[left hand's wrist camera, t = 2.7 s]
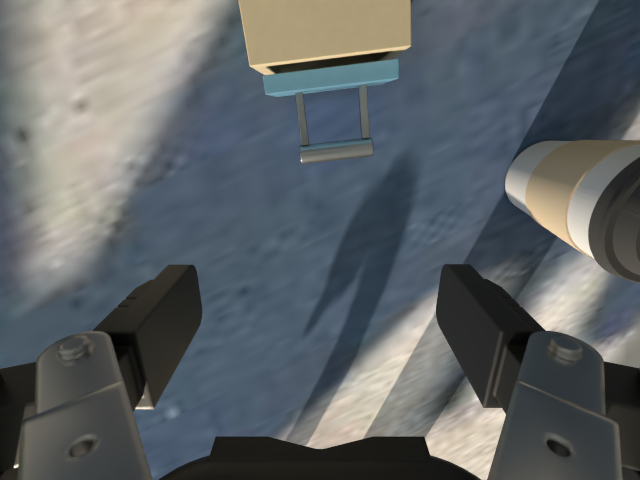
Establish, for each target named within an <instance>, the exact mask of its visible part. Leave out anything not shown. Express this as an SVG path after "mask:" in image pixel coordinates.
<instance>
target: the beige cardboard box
mask: <svg viewBox="0 0 640 480" xmlns="http://www.w3.org/2000/svg"><path fill="white" fill-rule="evenodd" d="M239 5H240V11H241V17H242V23H243V29H244V35H245V41H246V47H247V53H248V59H249V65H250V67H252V68H254V69H256V70H257V71H259V72H261V73H262V74H264V75H270V74H278V73H286V72H294V71H303V70H311V69H319V68H327V67H335V66H343V65H351V64H359V63H367V62H375V61H383V60H390V59H392V58H393V57H395V56H396V55H398V54H400V53H401V52H403V51H404V50H406V49H407V48H409V47H410V46H411V0H239Z"/></svg>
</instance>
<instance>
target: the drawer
mask: <svg viewBox="0 0 640 480" xmlns="http://www.w3.org/2000/svg"><path fill="white" fill-rule="evenodd" d="M398 78H399V59H391V60H383V61H375V62H367V63H359V64H351V65H343V66H335V67H327V68H319V69H311V70H303V71H294V72H286V73H278V74H270V75H263V81H264V87H265V93H266V94H267V95H271V96H275V97H280V96H288V95H295V98H296V105H297V113H298V121H299V129H300V137H301V146H300V147H299V150H300V159H301V163H302V164H309V163H317V162H326V161H335V160H344V159H352V158H361V157H370V156H373V140H372V138H371V137H369V119H368V101H367V86H370V85H379V84H384V83H387V82H389V81H392V80H395V79H398ZM354 87H358V93H359V109H360V125H361V139H352V140H343V141H335V142H326V143H318V144H309V139H308V131H307V122H306V114H305V106H304V97H303V94H305V93H313V92H321V91H329V90H338V89H346V88H354Z"/></svg>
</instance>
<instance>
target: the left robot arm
mask: <svg viewBox="0 0 640 480" xmlns="http://www.w3.org/2000/svg"><path fill="white" fill-rule="evenodd" d="M436 316H437V322H438V325H439V327H440V329H441V331H442V332H443V334H444V336H445V338H446V340H447V342H448V343H449V345H450V347H451V349H452V351H453V353H454V354H455V356H456V358H457V360H458V362H459V364H460V365H461V367H462V369H463V371H464V373H465V375H466V376H467V378H468V380H469V382H470V384H471V386H472V387H473V389H474V391H475V393H476V395H477V397H478V398H479V400H480V402H481V404H482V406H483V408H503V410H504V412H505V413H506V417H505V421H504V424H503V428H502V431H501V434H500V438H499V441H498V445H497V448H496V452H495V455H494V458H493V462H492V465H491V469H490V472H489V476H488V479H487V480H640V368H634V367H629V366H624V365H619V364H614V363H609V362H604V361H603V358H602V356H601V355H600V354H599V353H598V352H597V351H596V350H595V349H594V348H593V347H591V346H590V345H588V344H587V343H585V342H583V341H581V340H579V339H577V338H575V337H572V336H569V335H567V334H563V333H559V332H553V331H545V330H544V329H543V328H542V327H541V326H540V325H539V324H538V323H537V322H536V321H535V320H534V319H533V318H532V317H531V316H530V315H529V314H528V313H527V312H526V311H525V310H524V309H523V308H522V307H520V306H519V304H518V303H517V302H516V301H515V300H514V299H511V296H510V295H509V294H508V293H507V292H506V291H505V290H504V289H503V288H502V287H500V286H498V285H497V284H495V283H493V282H491V281H489V280H487V279H483V278H482V277H481V276H480V275H479V273H478V272H477V271H476V270H475V269H474V268H473V267H472V266H471V265H469V264H445V265H444V266H443V268H442V271H441V277H440V284H439V291H438V298H437V305H436ZM201 319H202V304H201V297H200V290H199V284H198V277H197V271H196V268H195V266H194V265H168V266H167V267H166V268H165V269H164V270H163V271H162V272H161V273H160V274H159V275H158V276H157V277H156V278H155V279H154V280H150V281H148V282H146V283H144V284H142V285H140V286H139V287H137V288H135V289H134V290H133V291H132V292H131V293H130V294H129V295H128V296H127V297H126V299H124V300H123V301H122V302H121V303H120V304H119V305H118V308H115V309H114V310H113V311H112V312H111V313H110V314H109V315H108V316H107V317H106V318H105V319H104V320H103V321H102V322H101V323H100V324H99V325H98V326H97V327H96V328H95V329H94V330H93V331H87V332H81V333H77V334H73V335H71V336H68V337H65V338H63V339H61V340H59V341H57V342H55V343H53V344H52V345H50V346H49V347H47V348H46V349H45V350H44V351H43V352H42V353H41V354H40V355H39V356H38V358H37V361H36V362H33V363H28V364H23V365H18V366H13V367H8V368H3V369H0V480H153V479H152V476H151V472H150V469H149V465H148V462H147V458H146V455H145V452H144V448H143V445H142V441H141V438H140V434H139V431H138V428H137V424H136V421H135V417H134V414H133V411H134V410H135V409H154V408H155V406H156V404H157V402H158V400H159V398H160V397H161V395H162V393H163V391H164V389H165V388H166V386H167V384H168V382H169V380H170V379H171V377H172V375H173V373H174V371H175V369H176V368H177V366H178V364H179V362H180V360H181V359H182V357H183V355H184V353H185V351H186V350H187V348H188V346H189V344H190V342H191V341H192V339H193V337H194V335H195V333H196V331H197V330H198V328H199V326H200V323H201ZM159 480H481V479H480V478H478V477H477V476H475V475H473V474H472V473H470V472H468V471H467V470H465V469H463V468H461V467H459V466H457V465H455V464H453V463H451V462H448V461H446V460H443V459H440V458H437V457H434V456H430V454H429V451H428V447H427V444H426V441H425V438H424V437H370V438H366V439H362V440H358V441H354V442H350V443H346V444H342V445H338V446H334V447H330V448H326V449H314V448H310V447H306V446H302V445H298V444H294V443H290V442H286V441H282V440H278V439H274V438H270V437H216V438H215V441H214V444H213V447H212V451H211V454H210V456H206V457H203V458H200V459H197V460H194V461H192V462H189V463H187V464H185V465H183V466H181V467H179V468H177V469H175V470H173V471H172V472H170V473H168V474H167V475H165V476H163V477H162V478H160V479H159Z"/></svg>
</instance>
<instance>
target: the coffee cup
mask: <svg viewBox="0 0 640 480" xmlns="http://www.w3.org/2000/svg"><path fill="white" fill-rule="evenodd" d="M505 188H506V193H507V196H508V198H509V200H510V201H511V202H512V203H513V204H514V205H515V206H516V207H518V208H519V209H521V210H522V211H524V212H525V213H527V214H528V215H530V216H531V217H532V218H533V219H534V220H535V221H536V222H537V223H539V224H540V225H542V226H543V227H545V228H546V229H548V230H549V231H551V232H552V233H554V234H555V235H556V236H558V237H559V238H561V239H562V240H564V241H565V242H567V243H568V244H570V245H571V246H573V247H574V248H576V249H577V250H579V251H580V252H582V253H583V254H585V255H587V256H589V257H592V258H594V259H595V260H596V261H597V263H598V264H599V265H600V266H601V267H602V268H603V269H605V270H606V271H608V272H609V273H611V274H613V275H615V276H618V277H622V278H624V279H626V280H629V281H632V282H637V283H640V141H633V140H577V141H543V142H539V143H536V144H534V145H532V146H530V147H528V148H527V149H525V150H524V151H523V152H521V153H520V154H519V155H518V156H517V157H516V159H515V160H514V161H513V163H512V164H511V166H510V168H509V170H508V173H507V176H506V181H505Z"/></svg>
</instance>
